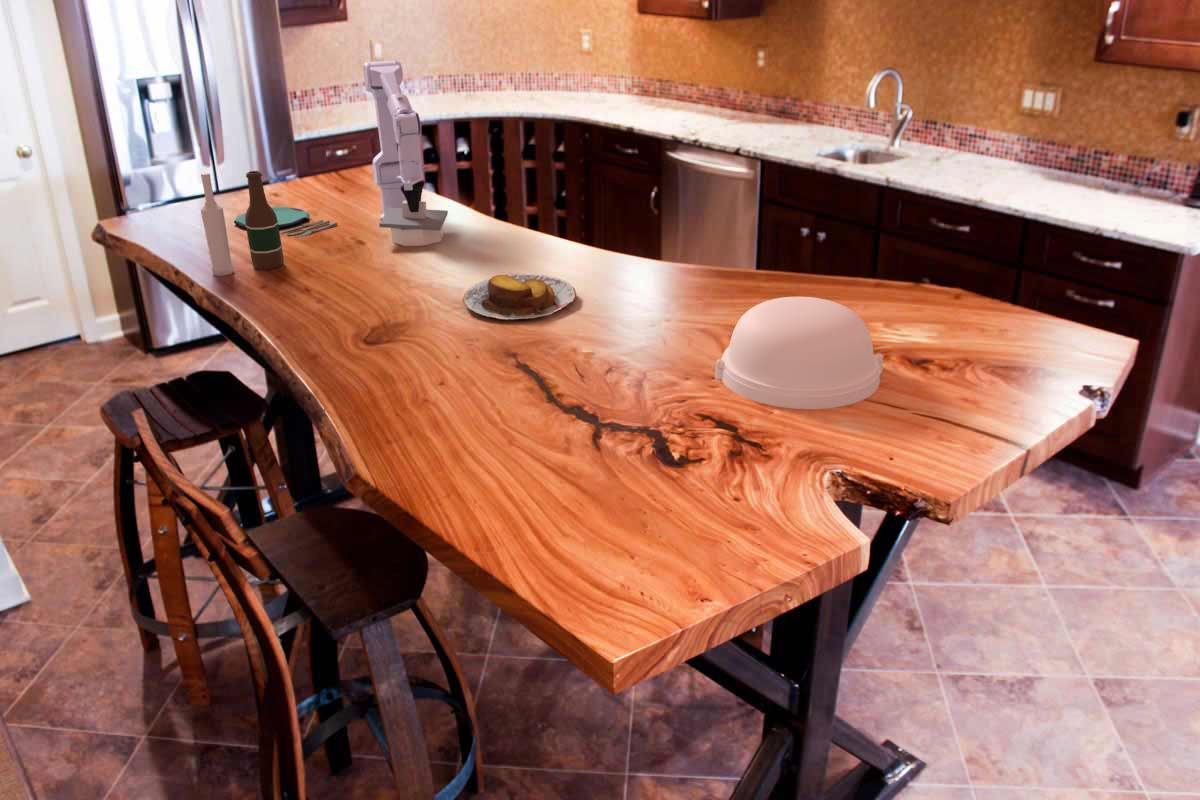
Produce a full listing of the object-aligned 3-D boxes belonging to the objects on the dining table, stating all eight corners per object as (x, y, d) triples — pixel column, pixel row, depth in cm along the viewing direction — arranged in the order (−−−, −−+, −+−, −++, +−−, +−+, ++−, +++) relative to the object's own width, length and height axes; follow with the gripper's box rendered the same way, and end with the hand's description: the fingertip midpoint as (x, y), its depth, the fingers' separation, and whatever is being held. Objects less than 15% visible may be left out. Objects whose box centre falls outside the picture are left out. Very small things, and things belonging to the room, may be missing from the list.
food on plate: (593, 294, 245) (592, 267, 242) (545, 331, 225) (544, 302, 222) (497, 281, 255) (495, 255, 252) (443, 316, 234) (440, 288, 231)
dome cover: (861, 343, 215) (867, 277, 209) (906, 406, 188) (914, 333, 182) (704, 349, 214) (705, 283, 208) (727, 413, 187) (729, 340, 181)
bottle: (237, 269, 266) (220, 171, 256) (229, 276, 262) (210, 176, 251) (217, 269, 267) (199, 171, 256) (209, 276, 262) (190, 176, 252)
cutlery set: (280, 209, 319) (278, 202, 318) (344, 226, 303) (343, 219, 302) (223, 225, 306) (221, 218, 305) (287, 244, 289) (286, 236, 288)
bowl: (398, 232, 294) (396, 216, 292) (444, 231, 294) (443, 215, 292) (390, 246, 282) (388, 229, 280) (438, 245, 282) (437, 228, 280)
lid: (389, 211, 293) (389, 193, 290) (447, 214, 293) (447, 196, 291) (379, 227, 278) (378, 208, 276) (440, 230, 279) (440, 211, 277)
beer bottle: (252, 263, 271) (236, 170, 261) (283, 259, 273) (269, 167, 263) (253, 272, 264) (236, 176, 254) (285, 268, 267) (270, 174, 256)
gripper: (399, 154, 285) (404, 203, 291) (390, 166, 272) (395, 217, 278) (425, 153, 285) (430, 203, 291) (417, 165, 272) (422, 217, 278)
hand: (415, 210), depth 284 cm, fingers closed on lid, 2 cm apart
